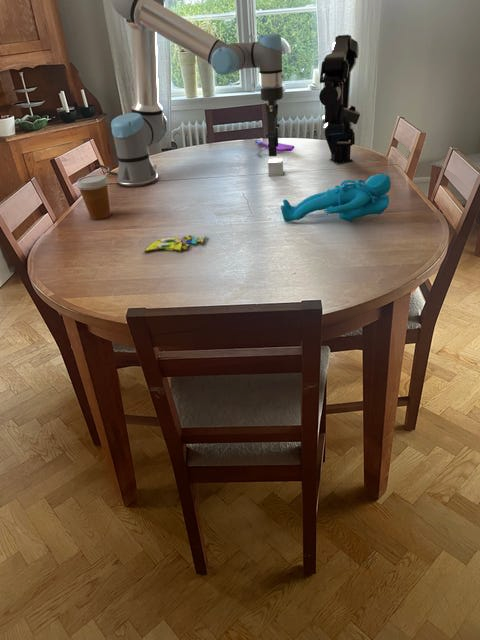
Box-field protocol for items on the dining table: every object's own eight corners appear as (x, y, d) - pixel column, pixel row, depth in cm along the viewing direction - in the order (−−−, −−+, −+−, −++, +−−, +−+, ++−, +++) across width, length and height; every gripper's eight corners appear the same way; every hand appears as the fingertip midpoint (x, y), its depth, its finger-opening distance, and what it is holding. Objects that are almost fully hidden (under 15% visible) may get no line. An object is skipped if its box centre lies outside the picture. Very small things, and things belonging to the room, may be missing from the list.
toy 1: (199, 248, 125) (143, 249, 127) (199, 251, 125) (144, 252, 127) (206, 233, 133) (154, 234, 135) (206, 236, 133) (154, 237, 136)
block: (282, 175, 176) (282, 162, 174) (268, 176, 177) (268, 162, 174) (283, 171, 180) (282, 158, 178) (269, 172, 181) (268, 159, 178)
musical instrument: (281, 159, 196) (302, 141, 209) (280, 154, 195) (302, 136, 207) (233, 159, 209) (255, 142, 221) (232, 155, 208) (255, 137, 220)
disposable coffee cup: (79, 220, 152) (69, 182, 146) (97, 209, 159) (88, 173, 153) (104, 222, 149) (94, 184, 142) (121, 211, 156) (113, 174, 150)
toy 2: (284, 188, 143) (387, 162, 133) (293, 221, 149) (393, 198, 138) (276, 209, 130) (390, 181, 120) (286, 244, 135) (397, 221, 125)
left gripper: (281, 91, 152) (282, 159, 163) (283, 81, 172) (285, 142, 184) (257, 93, 152) (260, 160, 164) (262, 82, 173) (265, 143, 185)
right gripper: (362, 104, 146) (359, 156, 154) (356, 94, 161) (354, 142, 170) (324, 106, 147) (324, 158, 156) (323, 96, 163) (322, 144, 171)
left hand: (273, 151), depth 174 cm, fingers open, 13 cm apart
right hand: (332, 150), depth 163 cm, fingers open, 9 cm apart
